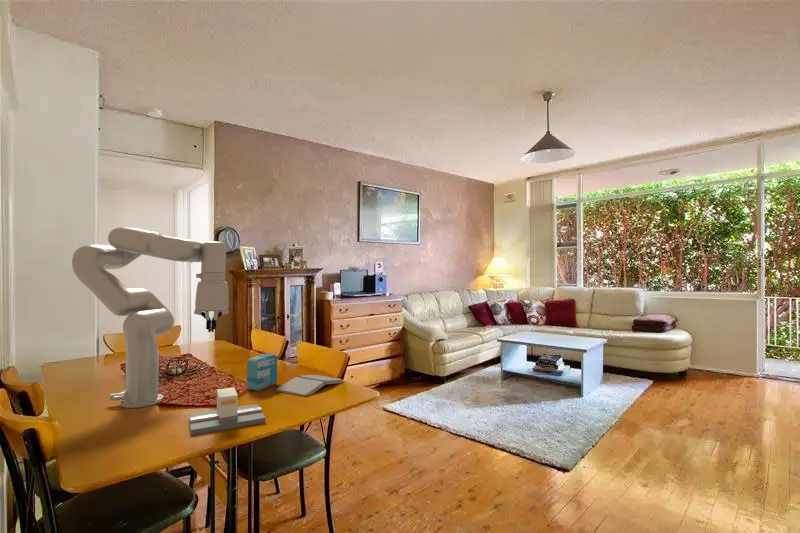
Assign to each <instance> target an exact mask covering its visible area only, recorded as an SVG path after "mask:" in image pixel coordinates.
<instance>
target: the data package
mask: <svg viewBox="0 0 800 533" xmlns="http://www.w3.org/2000/svg"><path fill="white" fill-rule="evenodd" d="M277 382H278V356H277V355H276V354H272V353H264V354H261V355H257V356H254V357H250V358H249V359H247V362H246V388H247V389H248V390H250V391H257V392H259V391H260V390H263V389H266V387H267V388H269V387H272V386H274V385H276V384H277Z"/></svg>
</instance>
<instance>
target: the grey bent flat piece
mask: <svg viewBox="0 0 800 533" xmlns="http://www.w3.org/2000/svg"><path fill="white" fill-rule="evenodd" d="M343 380H344V379H342V378H337V377H332V376H331V377H330V376H324V375H317V374H307V375H298V376H295V377H294V378H291V379H290V380H288V381H287V382H285V383H283V384H282V385H280V386H279V387H277V388H275V389H276V390H275V391H276V392H280V393H284V394H288V395H289V394H290V395H294V396H299V395H300V397H304V396H305V398H306V396H307V397H310V396H312V395H313V394H315V393H316V392H318V391H319V390H320V389H322V388H323V387H324V386H326V385H333V384H342V383H344V381H343ZM311 394H312V395H311ZM309 395H310V396H309Z"/></svg>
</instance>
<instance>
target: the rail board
mask: <svg viewBox="0 0 800 533" xmlns="http://www.w3.org/2000/svg"><path fill="white" fill-rule="evenodd" d="M265 423H266V416H265V415H264V412H263V408H262V407H261V406H259V404H258V403H255V404H247V405H241V406H238V417H237V419H236V420H230V421H224V422H219V415H218V413H217V409H213V410H208V411H203V412H202V411H201V412H195V413H189V429H190V436H196V435H201V434H207V433H213V432H218V431H224V430H230V429H236V428H241V427H243V428H244V427H248V426H253V425H254V426H255V425H258V424H265Z"/></svg>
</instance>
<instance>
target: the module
mask: <svg viewBox="0 0 800 533" xmlns="http://www.w3.org/2000/svg"><path fill="white" fill-rule="evenodd" d="M238 399H239V398H238V393H237V390H236V389H235V386H234V387H227V388H218V389H216V410H217V413H218V415H219V422H224V421H230V420H236V419H237V417H238V407H239V405H238V402H239V400H238Z"/></svg>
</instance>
